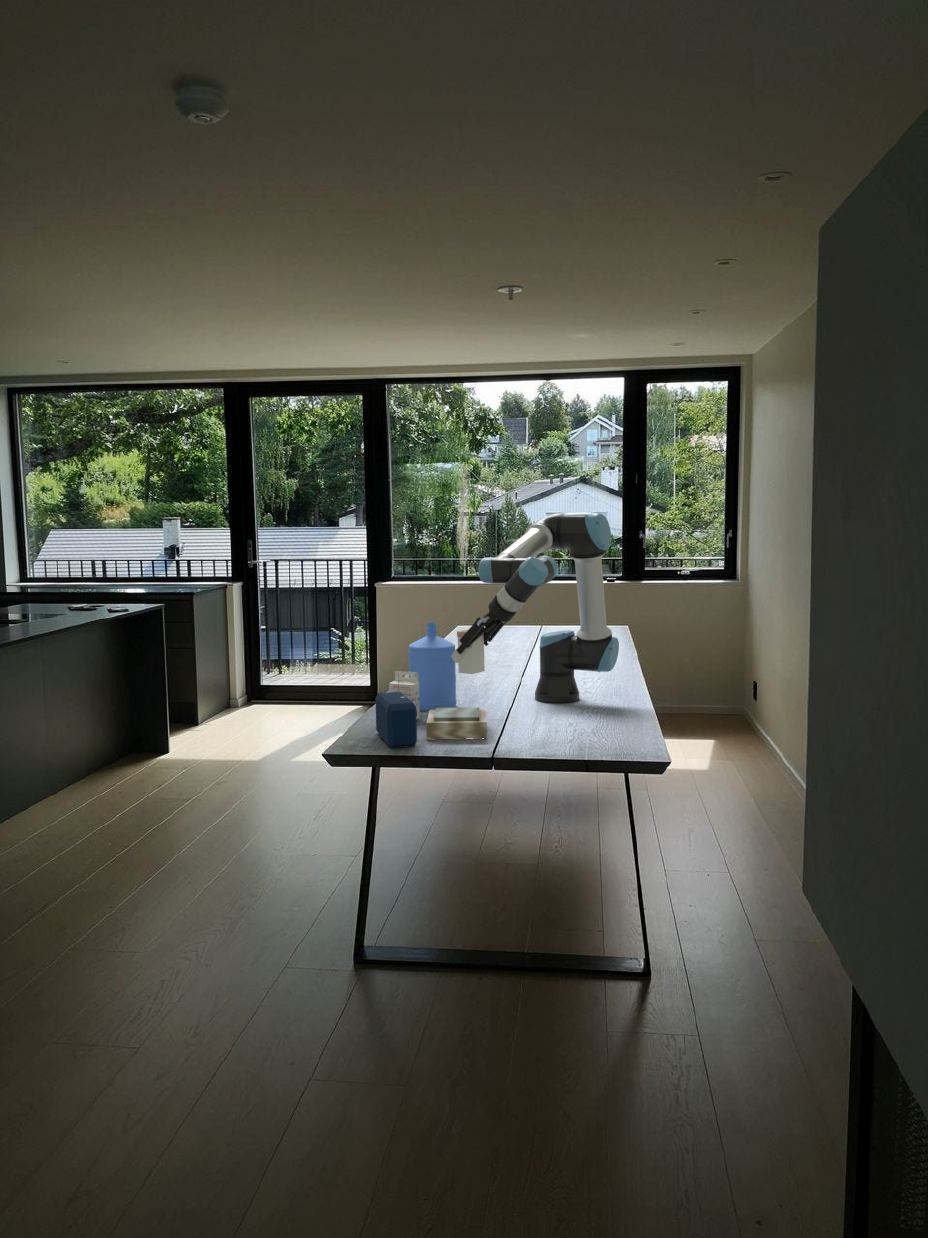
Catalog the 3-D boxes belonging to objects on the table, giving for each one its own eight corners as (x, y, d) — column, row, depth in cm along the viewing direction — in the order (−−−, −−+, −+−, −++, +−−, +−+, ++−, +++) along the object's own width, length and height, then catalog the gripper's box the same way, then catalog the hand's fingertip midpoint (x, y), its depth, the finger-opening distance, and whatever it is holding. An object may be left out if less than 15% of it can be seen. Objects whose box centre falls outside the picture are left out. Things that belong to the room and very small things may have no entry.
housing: (485, 671, 268) (484, 630, 267) (472, 674, 263) (471, 632, 262) (470, 669, 271) (469, 629, 270) (458, 672, 266) (456, 631, 265)
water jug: (446, 713, 295) (445, 627, 291) (401, 710, 300) (399, 625, 297) (463, 704, 309) (462, 621, 306) (420, 701, 315) (418, 619, 311)
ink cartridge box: (388, 720, 287) (387, 673, 285) (395, 716, 292) (394, 670, 290) (414, 721, 284) (413, 674, 283) (420, 718, 289) (419, 672, 287)
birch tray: (486, 725, 278) (486, 706, 277) (486, 739, 261) (486, 718, 260) (430, 725, 278) (429, 706, 278) (426, 739, 261) (426, 719, 261)
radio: (420, 747, 253) (419, 675, 251) (389, 750, 251) (388, 678, 249) (403, 730, 273) (402, 663, 271) (374, 732, 271) (373, 665, 269)
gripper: (495, 616, 248) (448, 672, 260) (532, 610, 264) (487, 663, 275) (478, 596, 251) (433, 652, 262) (516, 591, 266) (472, 644, 278)
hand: (461, 657), depth 269 cm, fingers closed on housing, 6 cm apart
